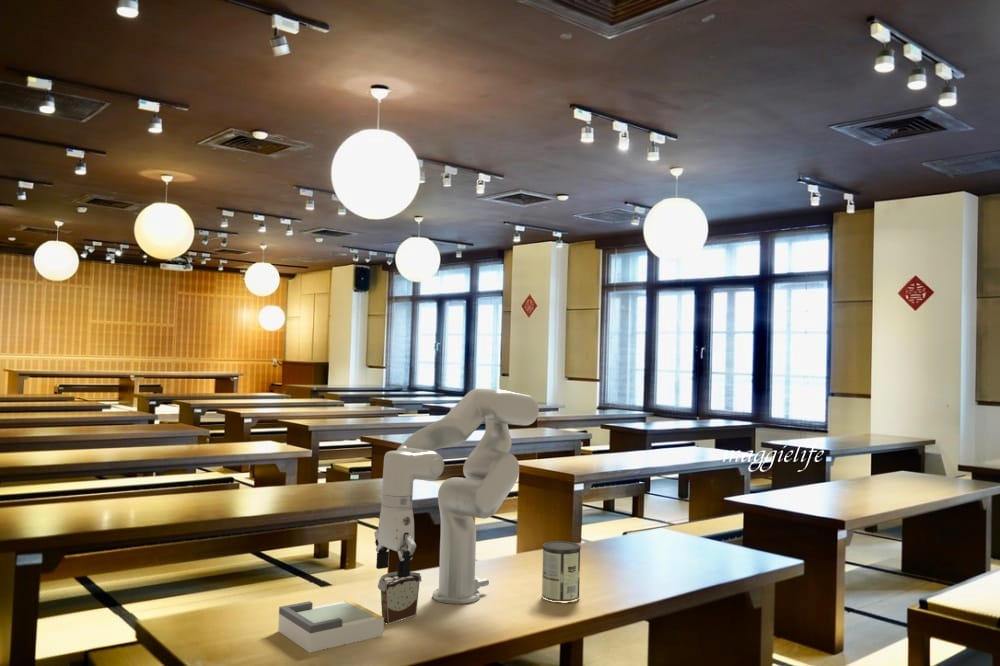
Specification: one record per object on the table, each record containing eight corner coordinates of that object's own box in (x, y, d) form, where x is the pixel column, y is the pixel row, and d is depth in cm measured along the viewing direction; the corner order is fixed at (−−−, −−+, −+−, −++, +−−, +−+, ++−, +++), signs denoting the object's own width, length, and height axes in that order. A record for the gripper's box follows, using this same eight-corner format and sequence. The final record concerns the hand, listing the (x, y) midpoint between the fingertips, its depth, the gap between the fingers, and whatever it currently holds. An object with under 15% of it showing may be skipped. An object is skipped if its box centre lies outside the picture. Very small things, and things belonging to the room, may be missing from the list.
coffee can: (553, 590, 216) (554, 539, 216) (586, 597, 210) (587, 544, 210) (534, 598, 207) (535, 545, 208) (568, 606, 201) (569, 551, 202)
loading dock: (348, 616, 188) (349, 593, 188) (383, 635, 176) (383, 611, 176) (278, 631, 176) (279, 606, 177) (309, 652, 164) (310, 626, 164)
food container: (403, 608, 196) (404, 568, 196) (420, 613, 192) (421, 573, 192) (365, 619, 186) (367, 577, 187) (383, 625, 182) (384, 582, 183)
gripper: (429, 506, 186) (425, 578, 185) (391, 496, 199) (387, 563, 198) (403, 508, 181) (398, 582, 180) (365, 497, 194) (361, 566, 193)
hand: (392, 572), depth 189 cm, fingers open, 9 cm apart
